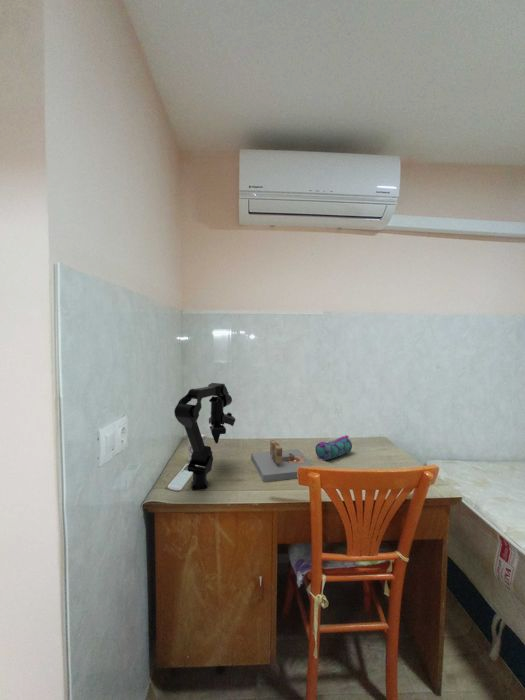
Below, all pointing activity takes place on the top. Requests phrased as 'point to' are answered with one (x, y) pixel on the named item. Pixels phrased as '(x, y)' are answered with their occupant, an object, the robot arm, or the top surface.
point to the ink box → (191, 446)
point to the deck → (278, 465)
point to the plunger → (278, 452)
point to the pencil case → (333, 448)
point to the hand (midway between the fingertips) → (216, 442)
